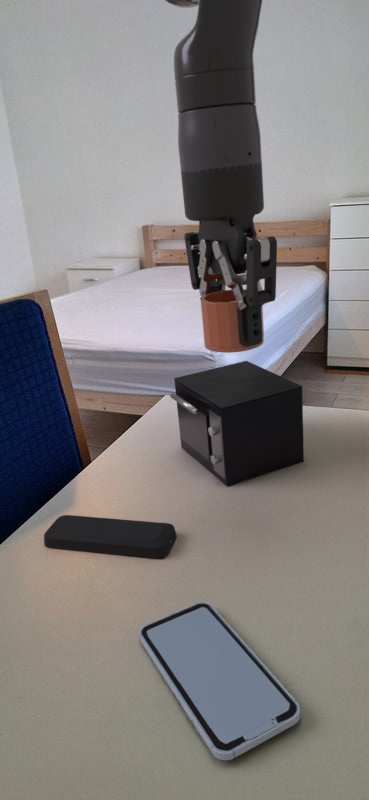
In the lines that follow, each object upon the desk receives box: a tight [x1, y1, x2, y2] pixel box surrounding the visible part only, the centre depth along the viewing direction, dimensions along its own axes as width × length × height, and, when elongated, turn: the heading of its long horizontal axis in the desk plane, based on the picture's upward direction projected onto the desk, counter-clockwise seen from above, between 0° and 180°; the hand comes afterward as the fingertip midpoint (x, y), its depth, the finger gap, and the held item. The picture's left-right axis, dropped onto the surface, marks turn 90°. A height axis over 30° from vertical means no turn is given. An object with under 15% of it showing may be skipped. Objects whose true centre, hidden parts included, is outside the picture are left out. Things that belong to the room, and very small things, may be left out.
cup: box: [199, 288, 265, 354], centre depth 61 cm, size 6×6×5 cm
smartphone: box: [138, 601, 301, 761], centre depth 49 cm, size 7×1×15 cm
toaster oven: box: [169, 360, 305, 487], centre depth 83 cm, size 14×14×11 cm
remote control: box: [43, 514, 178, 559], centre depth 68 cm, size 5×2×15 cm
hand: (233, 337), depth 61 cm, fingers closed on cup, 6 cm apart
